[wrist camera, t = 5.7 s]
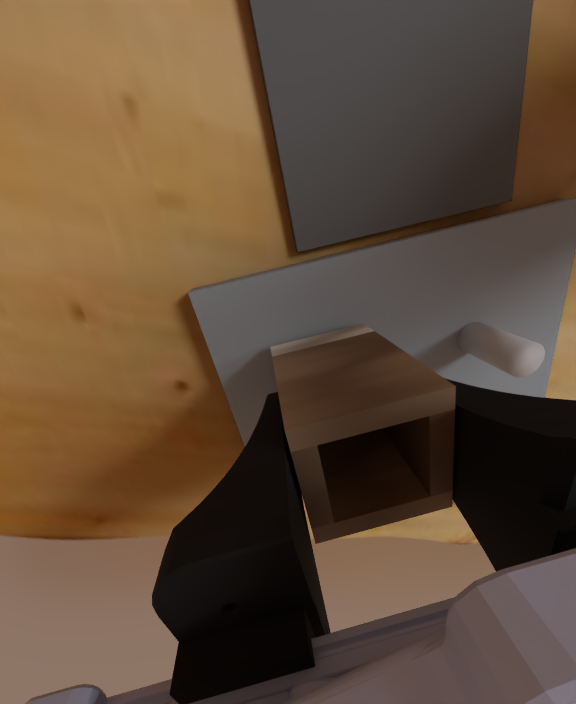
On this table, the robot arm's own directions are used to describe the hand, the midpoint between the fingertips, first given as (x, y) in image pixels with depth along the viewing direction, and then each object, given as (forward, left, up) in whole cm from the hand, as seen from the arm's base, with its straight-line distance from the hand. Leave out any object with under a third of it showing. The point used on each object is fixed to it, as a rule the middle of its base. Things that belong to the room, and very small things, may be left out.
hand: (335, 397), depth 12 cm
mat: (-5, -11, -3) cm, 12 cm away
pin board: (-4, 0, -3) cm, 5 cm away
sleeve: (0, 0, -2) cm, 2 cm away
